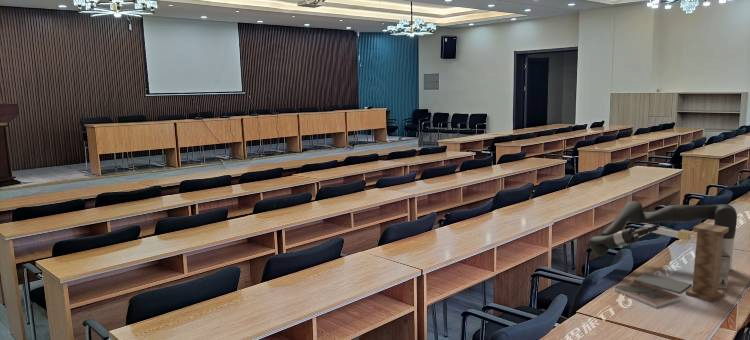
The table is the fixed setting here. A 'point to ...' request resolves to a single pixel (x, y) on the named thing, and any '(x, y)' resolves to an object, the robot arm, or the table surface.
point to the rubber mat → (663, 282)
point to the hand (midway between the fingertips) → (657, 227)
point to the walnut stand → (707, 262)
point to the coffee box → (724, 270)
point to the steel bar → (672, 232)
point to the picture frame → (647, 293)
